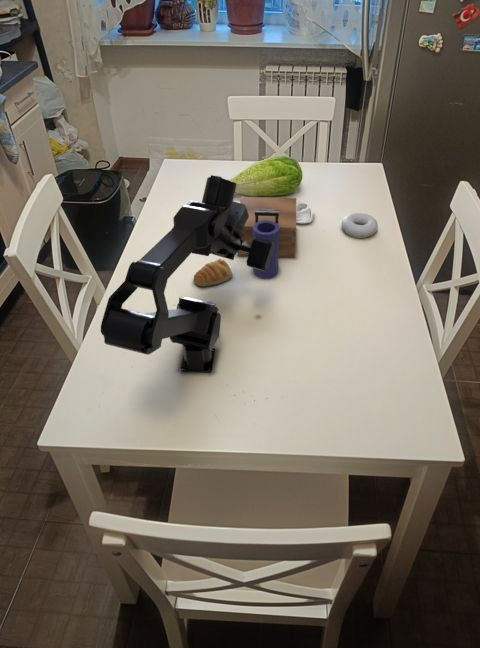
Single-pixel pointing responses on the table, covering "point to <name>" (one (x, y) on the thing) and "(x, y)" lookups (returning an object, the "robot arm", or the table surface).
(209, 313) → the robot arm
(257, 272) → the purple hollow cylinder
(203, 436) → the table surface
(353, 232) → the donut
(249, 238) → the bread box
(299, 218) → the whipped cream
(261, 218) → the bread box lid
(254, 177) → the lettuce
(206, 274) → the pastry
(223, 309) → the table surface
